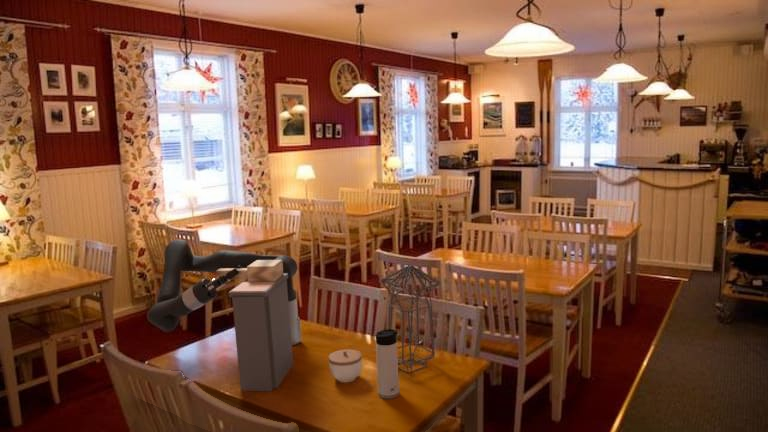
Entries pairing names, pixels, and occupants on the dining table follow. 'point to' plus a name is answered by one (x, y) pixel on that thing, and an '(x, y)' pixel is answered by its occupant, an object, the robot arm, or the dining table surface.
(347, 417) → the dining table surface
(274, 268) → the beech mallet
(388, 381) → the travel mug
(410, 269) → the geometric lantern
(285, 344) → the tall grey pillar box
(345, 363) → the lidded jar
